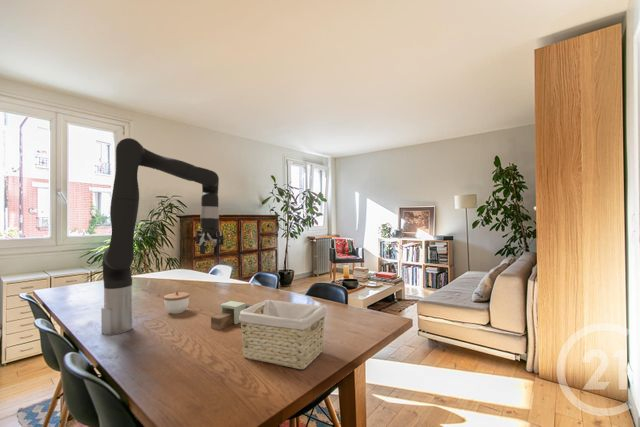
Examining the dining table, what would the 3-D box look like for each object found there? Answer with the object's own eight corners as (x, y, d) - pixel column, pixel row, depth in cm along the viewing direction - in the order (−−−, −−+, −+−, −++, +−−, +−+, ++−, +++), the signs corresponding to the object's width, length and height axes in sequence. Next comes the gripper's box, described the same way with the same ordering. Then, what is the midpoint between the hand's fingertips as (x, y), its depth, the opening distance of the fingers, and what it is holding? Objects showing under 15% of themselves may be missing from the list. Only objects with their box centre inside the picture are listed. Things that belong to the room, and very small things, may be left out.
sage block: (235, 324, 124) (235, 306, 124) (220, 321, 127) (220, 304, 128) (245, 319, 129) (245, 303, 129) (230, 316, 133) (230, 300, 133)
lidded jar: (182, 315, 136) (182, 294, 136) (159, 315, 136) (159, 294, 136) (193, 308, 147) (193, 288, 147) (171, 308, 147) (171, 288, 147)
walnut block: (219, 330, 118) (219, 318, 118) (211, 328, 120) (211, 317, 120) (241, 321, 129) (241, 310, 129) (233, 319, 131) (233, 308, 131)
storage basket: (236, 358, 94) (236, 310, 94) (267, 339, 109) (266, 298, 109) (304, 374, 84) (304, 321, 84) (328, 351, 99) (327, 305, 99)
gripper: (191, 217, 132) (190, 254, 131) (214, 217, 125) (213, 256, 124) (205, 217, 138) (205, 253, 138) (228, 217, 131) (227, 254, 131)
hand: (209, 254), depth 131 cm, fingers open, 8 cm apart
